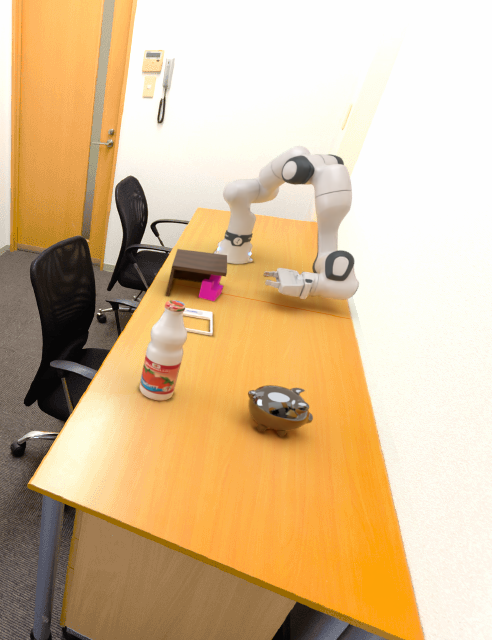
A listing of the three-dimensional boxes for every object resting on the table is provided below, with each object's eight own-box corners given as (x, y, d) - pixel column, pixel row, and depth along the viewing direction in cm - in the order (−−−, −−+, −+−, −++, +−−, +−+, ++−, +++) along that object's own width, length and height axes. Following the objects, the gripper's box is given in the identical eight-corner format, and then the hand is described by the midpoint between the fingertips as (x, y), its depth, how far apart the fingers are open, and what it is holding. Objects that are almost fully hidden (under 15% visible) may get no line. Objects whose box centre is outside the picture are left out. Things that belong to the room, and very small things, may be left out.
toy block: (214, 301, 175) (218, 284, 171) (198, 297, 178) (202, 280, 174) (224, 289, 185) (228, 273, 181) (209, 286, 188) (213, 270, 184)
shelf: (171, 277, 197) (177, 248, 190) (219, 284, 190) (227, 255, 183) (165, 295, 179) (172, 265, 173) (218, 304, 172) (226, 273, 165)
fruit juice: (178, 391, 123) (202, 304, 109) (162, 406, 117) (184, 315, 103) (149, 377, 129) (167, 293, 114) (132, 390, 123) (149, 303, 109)
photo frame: (212, 311, 164) (212, 332, 149) (211, 314, 164) (211, 335, 150) (172, 305, 169) (168, 325, 154) (171, 307, 169) (168, 327, 155)
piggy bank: (308, 449, 103) (326, 412, 97) (239, 432, 108) (252, 396, 102) (300, 420, 112) (317, 385, 106) (237, 406, 117) (249, 371, 111)
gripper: (304, 267, 172) (265, 262, 177) (311, 285, 156) (268, 279, 161) (298, 281, 175) (260, 276, 180) (305, 301, 159) (263, 294, 164)
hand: (264, 277), depth 170 cm, fingers open, 8 cm apart
